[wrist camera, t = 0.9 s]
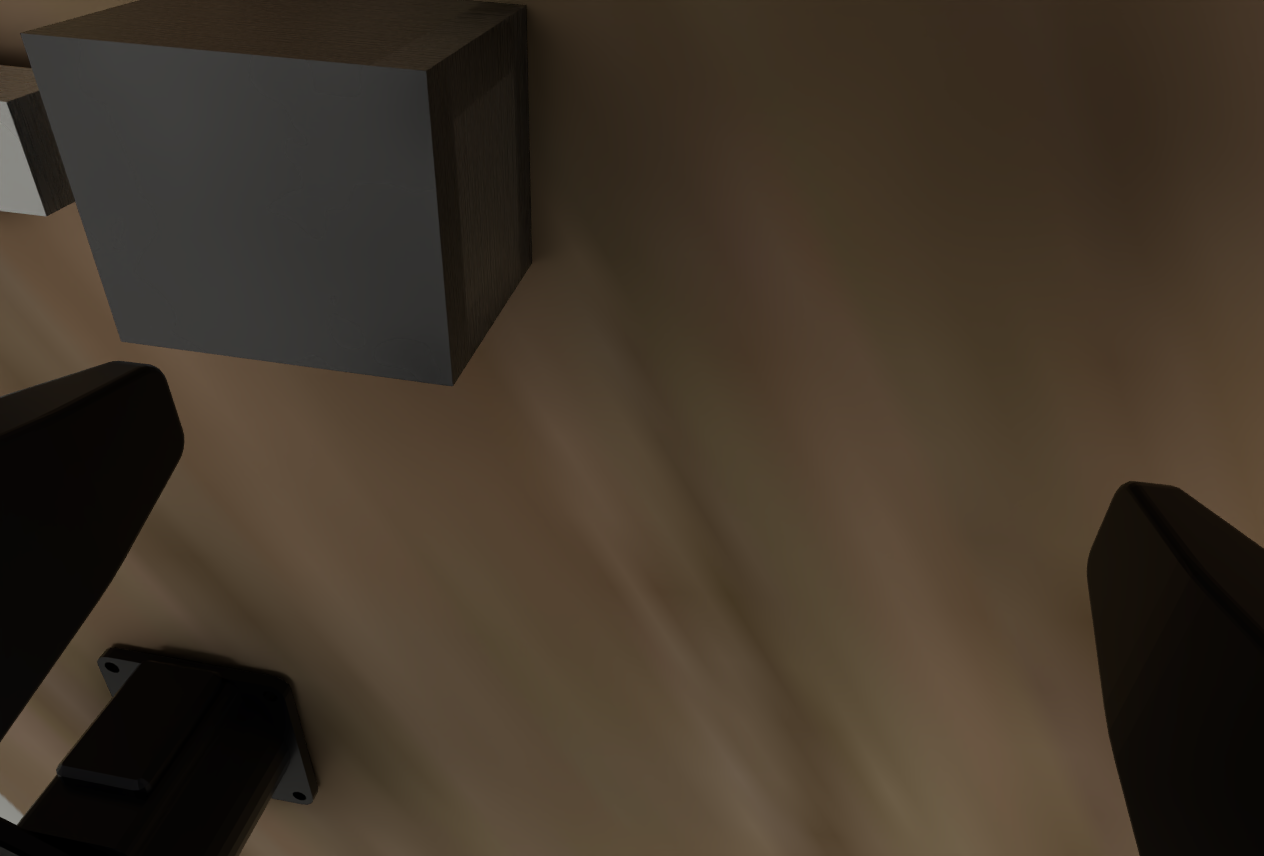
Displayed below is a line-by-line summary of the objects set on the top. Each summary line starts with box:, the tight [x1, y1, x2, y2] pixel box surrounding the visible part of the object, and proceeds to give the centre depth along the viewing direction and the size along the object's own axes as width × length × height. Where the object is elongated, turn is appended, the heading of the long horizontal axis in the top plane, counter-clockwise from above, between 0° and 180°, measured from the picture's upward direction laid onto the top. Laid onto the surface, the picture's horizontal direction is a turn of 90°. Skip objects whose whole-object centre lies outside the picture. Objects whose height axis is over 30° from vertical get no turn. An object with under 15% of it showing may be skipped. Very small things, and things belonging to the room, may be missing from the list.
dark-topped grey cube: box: [20, 0, 532, 386], centre depth 16 cm, size 5×6×5 cm
